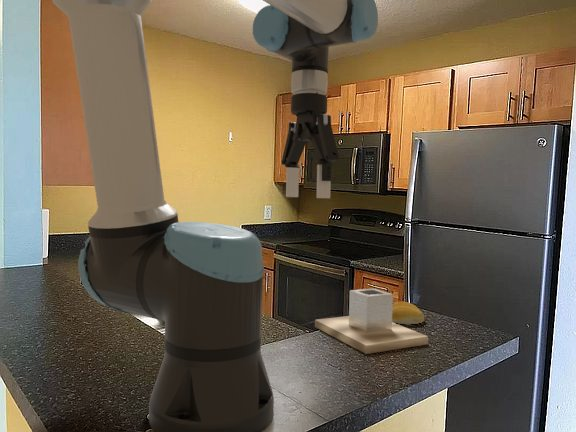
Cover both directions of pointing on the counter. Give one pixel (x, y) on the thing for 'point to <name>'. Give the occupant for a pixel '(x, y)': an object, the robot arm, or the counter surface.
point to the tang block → (371, 336)
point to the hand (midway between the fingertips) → (306, 197)
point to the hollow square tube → (370, 310)
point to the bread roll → (406, 313)
